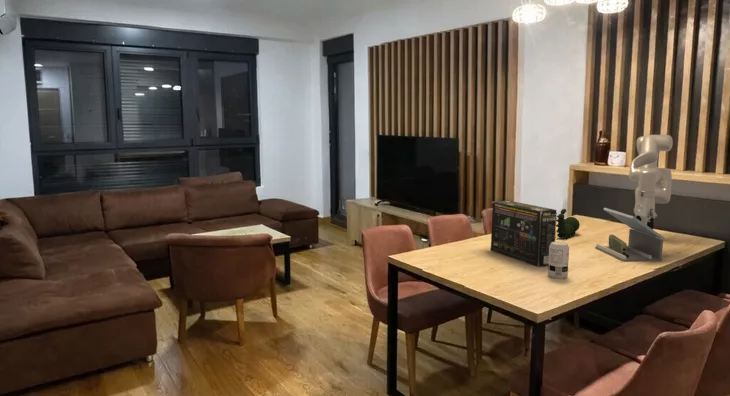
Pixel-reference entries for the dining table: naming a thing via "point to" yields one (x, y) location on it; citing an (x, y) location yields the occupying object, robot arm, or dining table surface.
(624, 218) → the cover
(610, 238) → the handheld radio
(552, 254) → the supplement can
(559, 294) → the dining table surface
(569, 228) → the toy figurine
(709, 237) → the dining table surface
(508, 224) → the router box
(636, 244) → the grey sloped stand
